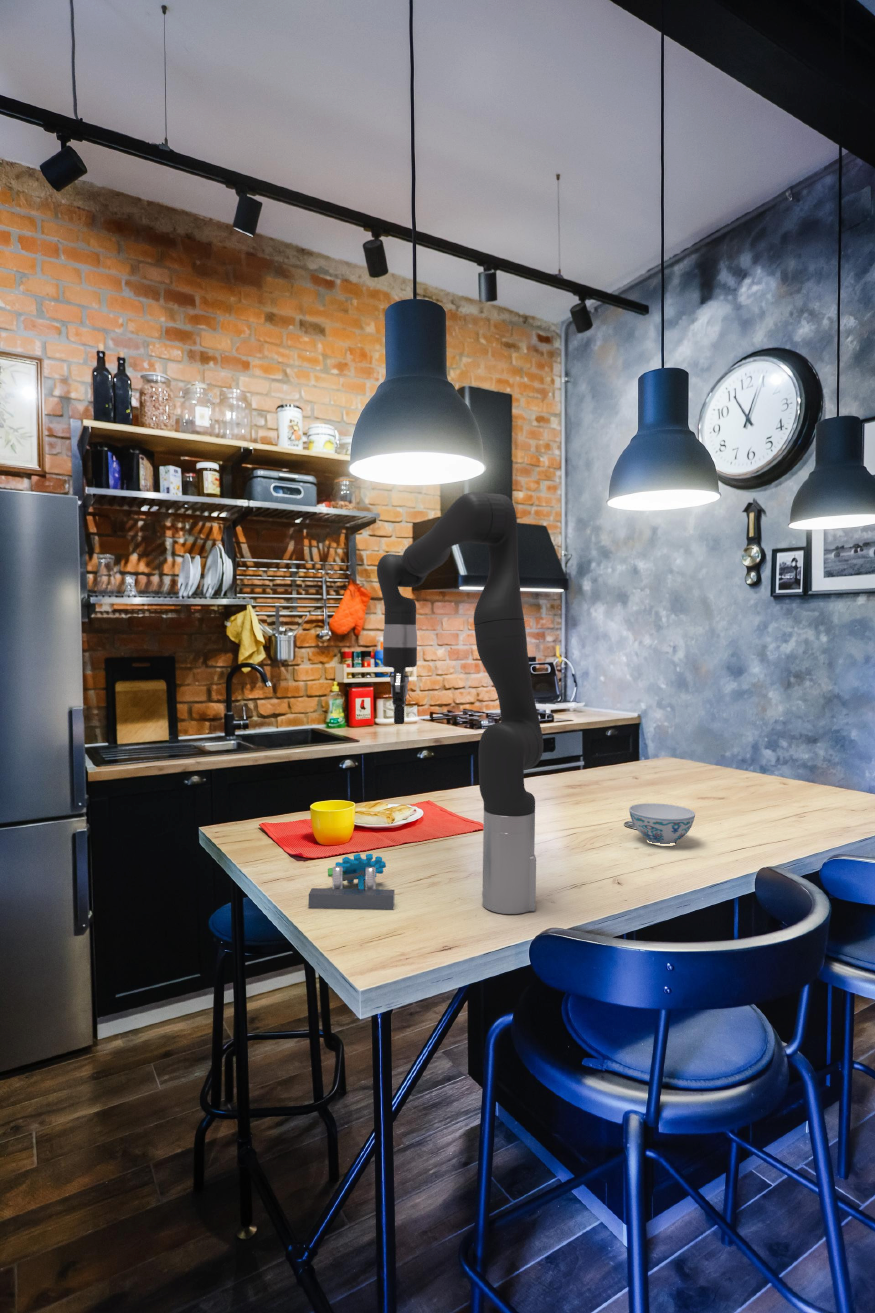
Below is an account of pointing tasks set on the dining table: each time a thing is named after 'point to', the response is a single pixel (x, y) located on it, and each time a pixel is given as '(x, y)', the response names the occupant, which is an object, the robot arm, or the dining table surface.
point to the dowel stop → (352, 894)
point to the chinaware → (661, 821)
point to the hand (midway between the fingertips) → (399, 723)
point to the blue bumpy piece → (358, 868)
